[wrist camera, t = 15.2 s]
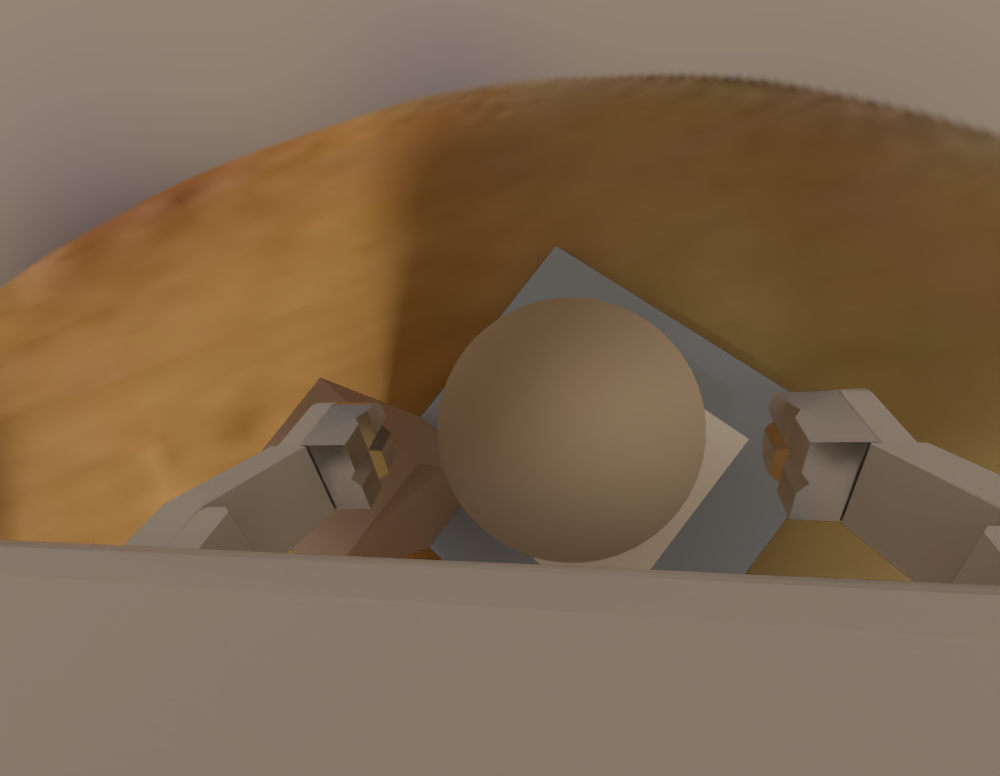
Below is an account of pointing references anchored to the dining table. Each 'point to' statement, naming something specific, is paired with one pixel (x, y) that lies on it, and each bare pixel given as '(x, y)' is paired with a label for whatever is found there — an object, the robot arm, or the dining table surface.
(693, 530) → the build base
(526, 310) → the birch column
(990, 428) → the dining table surface
